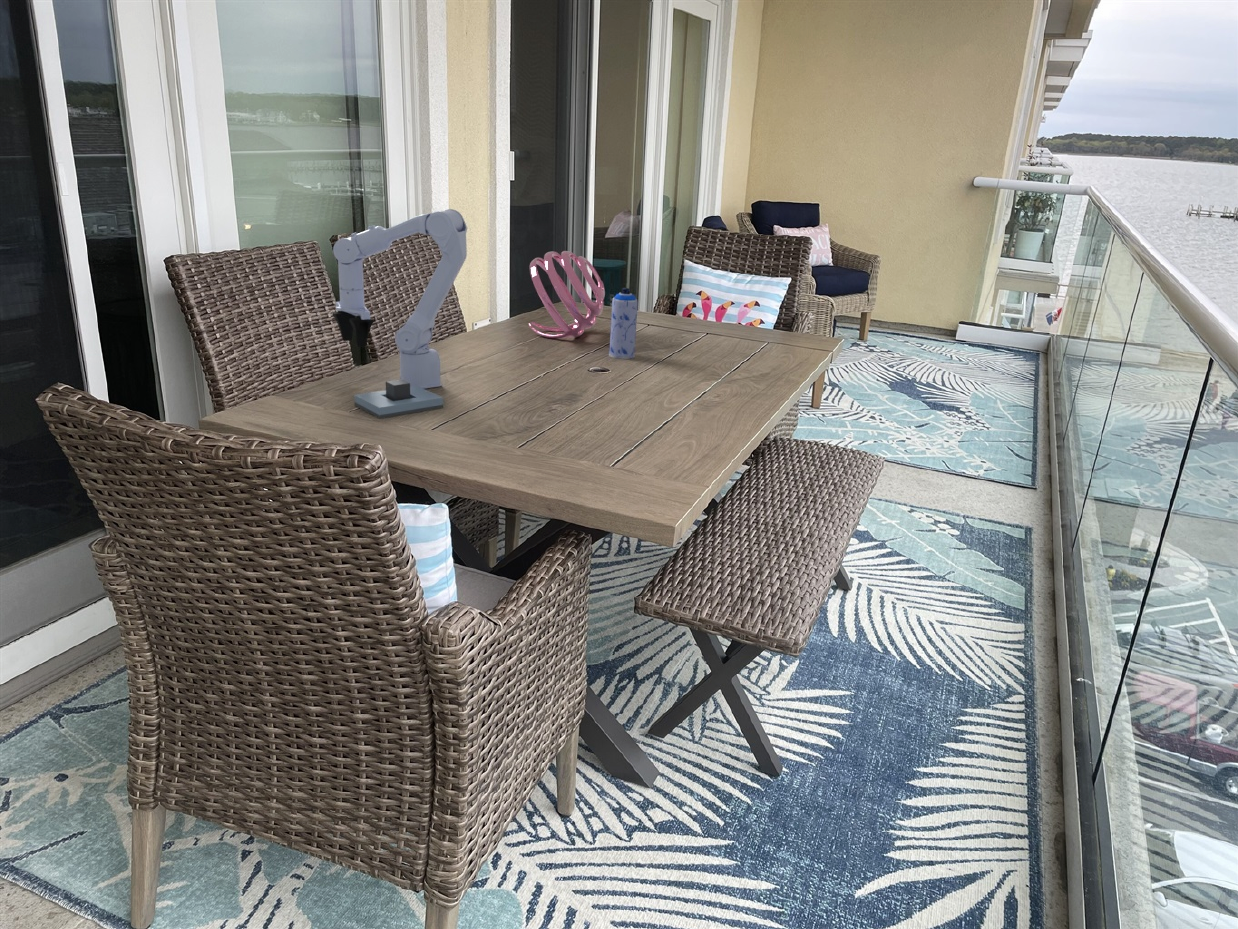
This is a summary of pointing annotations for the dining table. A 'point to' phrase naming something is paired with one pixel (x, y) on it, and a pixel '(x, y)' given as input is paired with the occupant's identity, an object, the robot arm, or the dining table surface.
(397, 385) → the plug
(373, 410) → the pale blue socket slab
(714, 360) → the dining table surface
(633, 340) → the aerosol can
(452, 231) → the robot arm
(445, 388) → the dining table surface
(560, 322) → the spiral basket
